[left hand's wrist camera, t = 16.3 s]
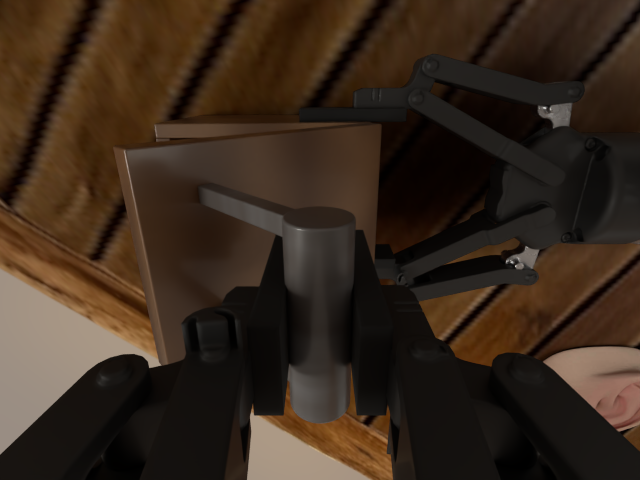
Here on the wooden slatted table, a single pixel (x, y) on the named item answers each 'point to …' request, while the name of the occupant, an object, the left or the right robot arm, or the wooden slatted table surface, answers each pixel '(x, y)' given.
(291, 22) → the wooden slatted table surface
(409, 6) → the wooden slatted table surface
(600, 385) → the anatomical model
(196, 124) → the chest
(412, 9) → the wooden slatted table surface
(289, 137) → the lid
